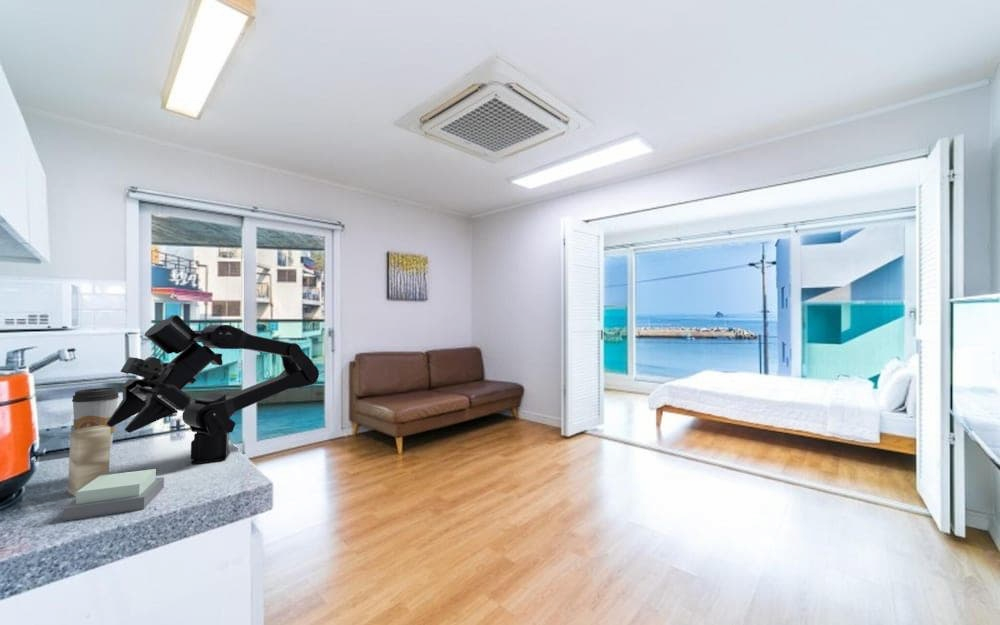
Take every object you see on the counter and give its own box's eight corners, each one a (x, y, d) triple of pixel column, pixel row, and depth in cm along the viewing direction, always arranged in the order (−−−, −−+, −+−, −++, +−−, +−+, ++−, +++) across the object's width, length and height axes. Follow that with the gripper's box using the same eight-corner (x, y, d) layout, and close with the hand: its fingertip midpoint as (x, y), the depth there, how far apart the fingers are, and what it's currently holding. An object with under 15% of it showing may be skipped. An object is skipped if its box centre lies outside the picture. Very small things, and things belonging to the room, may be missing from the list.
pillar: (99, 483, 79) (102, 425, 79) (108, 488, 77) (110, 427, 77) (67, 491, 75) (70, 429, 75) (75, 496, 73) (78, 433, 73)
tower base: (163, 487, 77) (164, 466, 77) (144, 508, 68) (144, 485, 68) (94, 496, 73) (95, 474, 73) (63, 520, 64) (64, 495, 64)
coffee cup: (62, 457, 94) (64, 393, 95) (78, 448, 102) (81, 388, 102) (109, 452, 98) (111, 391, 99) (122, 443, 106) (124, 386, 106)
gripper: (135, 342, 89) (61, 399, 79) (174, 344, 80) (96, 409, 70) (176, 374, 96) (113, 430, 86) (216, 379, 87) (151, 443, 77)
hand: (117, 428), depth 80 cm, fingers open, 9 cm apart
